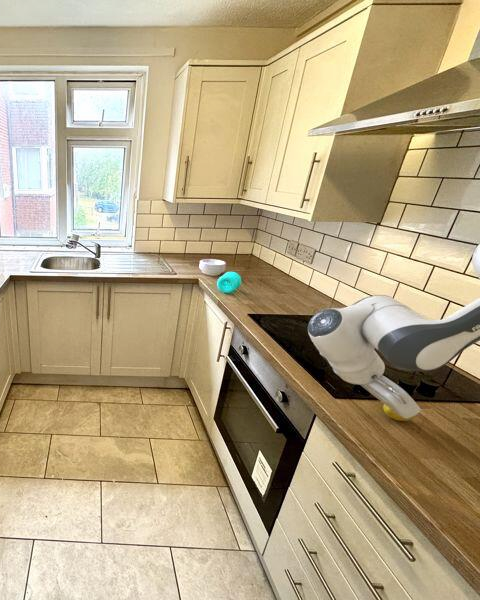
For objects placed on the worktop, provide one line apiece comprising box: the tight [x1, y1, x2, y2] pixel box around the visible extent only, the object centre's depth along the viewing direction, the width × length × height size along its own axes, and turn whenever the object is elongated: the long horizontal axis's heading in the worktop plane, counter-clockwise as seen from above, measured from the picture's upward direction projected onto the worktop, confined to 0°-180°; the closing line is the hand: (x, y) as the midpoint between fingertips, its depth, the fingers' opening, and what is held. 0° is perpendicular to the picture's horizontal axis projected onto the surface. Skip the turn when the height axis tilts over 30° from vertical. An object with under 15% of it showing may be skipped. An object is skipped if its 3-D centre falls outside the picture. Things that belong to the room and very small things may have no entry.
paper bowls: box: [198, 258, 227, 277], centre depth 197 cm, size 15×15×8 cm
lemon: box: [382, 403, 418, 422], centre depth 82 cm, size 6×6×8 cm
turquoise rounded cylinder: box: [216, 271, 242, 294], centre depth 168 cm, size 10×10×10 cm
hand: (383, 398), depth 77 cm, fingers closed
